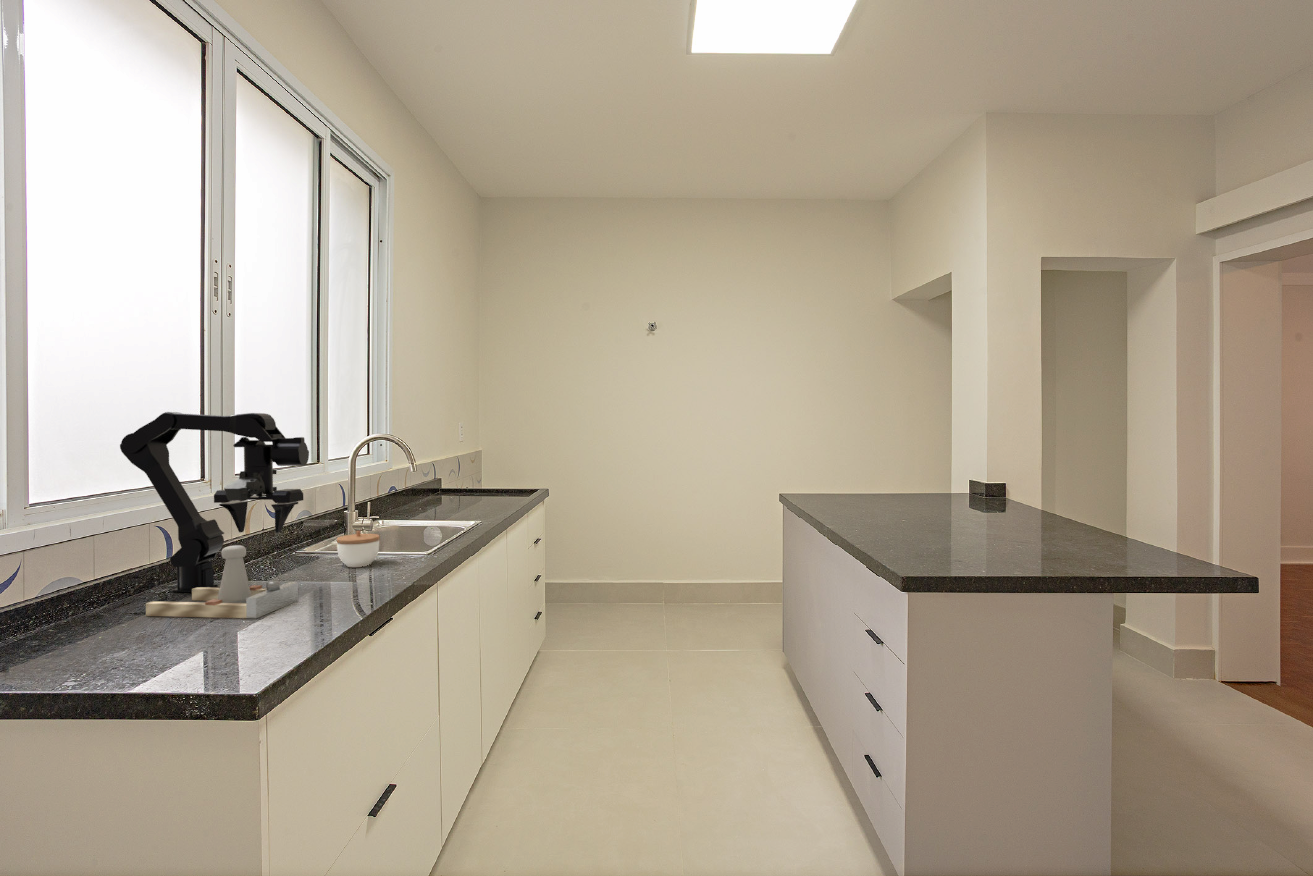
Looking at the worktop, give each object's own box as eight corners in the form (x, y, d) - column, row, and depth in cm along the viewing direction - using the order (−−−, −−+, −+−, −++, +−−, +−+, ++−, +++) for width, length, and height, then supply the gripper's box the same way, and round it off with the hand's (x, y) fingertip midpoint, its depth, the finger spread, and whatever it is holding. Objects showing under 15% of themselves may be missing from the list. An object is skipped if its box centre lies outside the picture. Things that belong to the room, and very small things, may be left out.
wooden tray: (144, 616, 129) (144, 588, 129) (198, 598, 143) (197, 573, 142) (256, 618, 127) (255, 590, 127) (299, 600, 141) (299, 574, 140)
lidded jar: (337, 570, 169) (336, 535, 169) (336, 563, 178) (336, 529, 178) (381, 566, 174) (381, 532, 174) (378, 559, 183) (378, 526, 183)
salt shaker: (234, 612, 131) (233, 549, 131) (211, 611, 132) (209, 548, 132) (257, 604, 137) (256, 544, 137) (234, 603, 138) (233, 543, 138)
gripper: (194, 468, 144) (195, 537, 145) (272, 468, 143) (273, 538, 143) (231, 465, 155) (232, 529, 156) (304, 465, 154) (305, 530, 154)
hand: (259, 532), depth 152 cm, fingers open, 9 cm apart
